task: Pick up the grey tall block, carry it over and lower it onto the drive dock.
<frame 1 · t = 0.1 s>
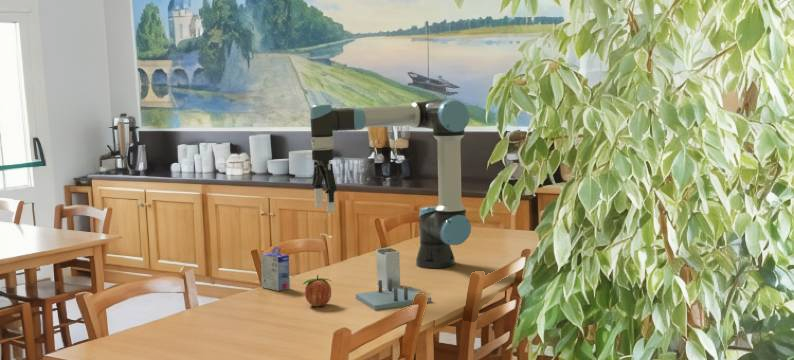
hand: (324, 209, 296), 28 cm above the table, fingers open, 13 cm apart
grey tall block: (388, 286, 297), on the table
drive dock: (393, 300, 278), on the table
ink cartridge box: (276, 288, 300), on the table
fruit: (318, 306, 275), on the table
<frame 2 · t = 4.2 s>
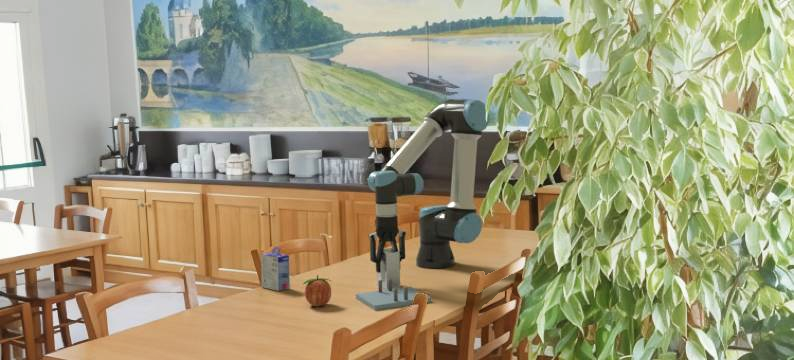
hand: (388, 280, 297), 2 cm above the table, fingers closed on grey tall block, 5 cm apart
grey tall block: (388, 286, 297), on the table, touching gripper
everything else where it was.
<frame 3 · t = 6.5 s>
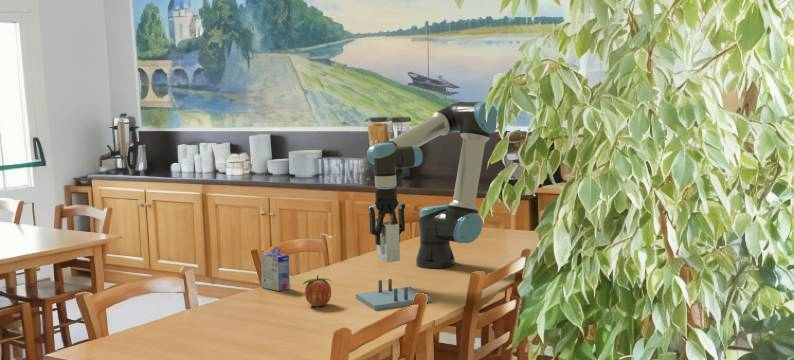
hand: (388, 252, 296), 12 cm above the table, fingers closed on grey tall block, 5 cm apart
grey tall block: (388, 259, 296), point 10 cm above the table, touching gripper
everything else where it was.
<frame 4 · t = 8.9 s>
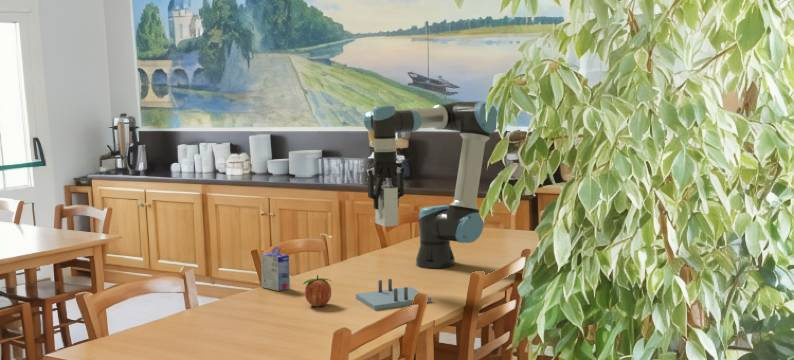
hand: (386, 217, 292), 25 cm above the table, fingers closed on grey tall block, 5 cm apart
grey tall block: (386, 224, 292), point 23 cm above the table, touching gripper
everything else where it was.
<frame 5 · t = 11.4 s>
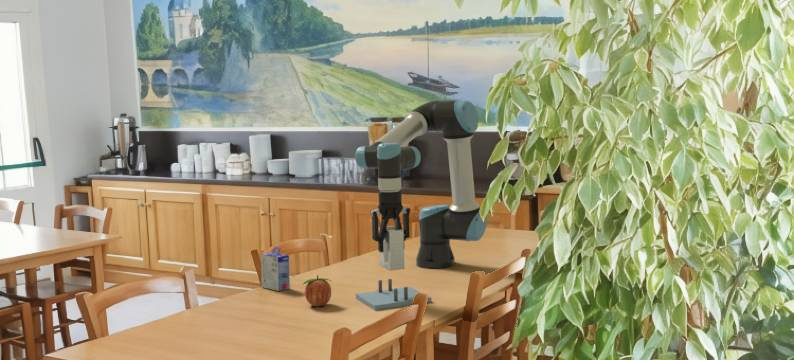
hand: (391, 260, 277), 13 cm above the table, fingers closed on grey tall block, 5 cm apart
grey tall block: (391, 267, 277), point 11 cm above the table, touching gripper
everything else where it was.
when the fingers open (5 cm above the table, at t = 13.7 s): grey tall block stays where it is, resting on drive dock.
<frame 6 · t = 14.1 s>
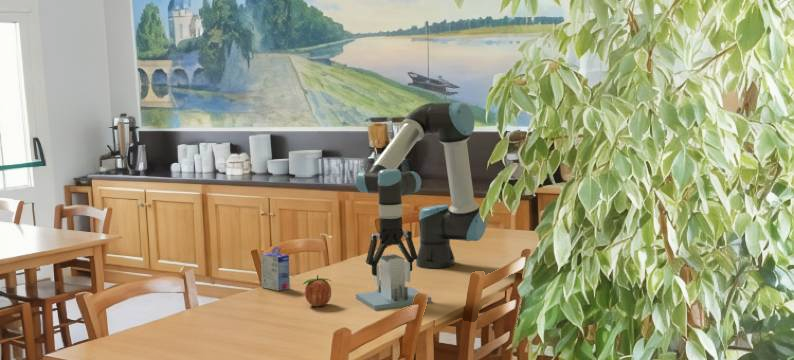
hand: (392, 283, 278), 6 cm above the table, fingers open, 10 cm apart
grey tall block: (393, 295, 278), point 1 cm above the table, touching drive dock
everything else where it was.
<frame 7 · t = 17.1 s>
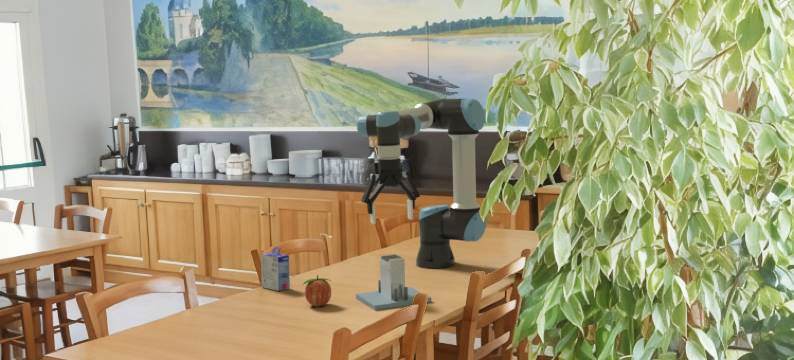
hand: (391, 221, 280), 26 cm above the table, fingers open, 13 cm apart
nothing on the table moved.
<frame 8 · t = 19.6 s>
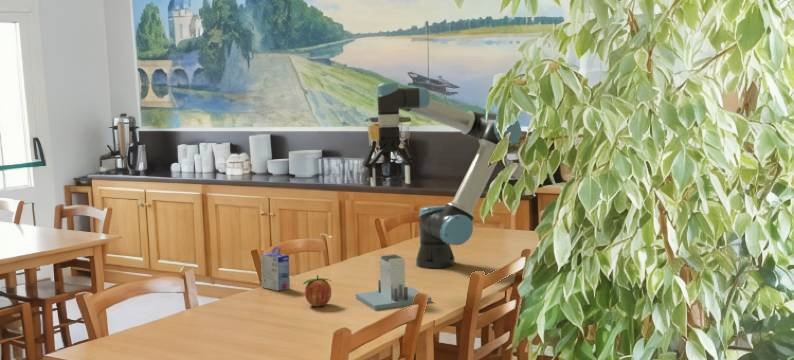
hand: (390, 184, 305), 35 cm above the table, fingers open, 13 cm apart
nothing on the table moved.
at the end: grey tall block 0.0 cm off-centre on the drive dock, point 1.5 cm above the drive dock's base; grey tall block tilted 0°; the gripper is holding nothing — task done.
